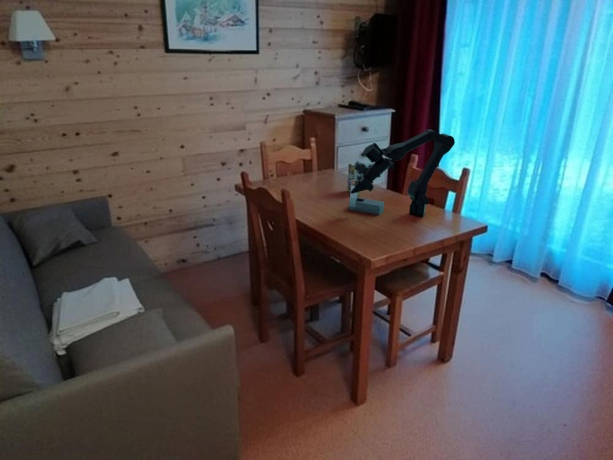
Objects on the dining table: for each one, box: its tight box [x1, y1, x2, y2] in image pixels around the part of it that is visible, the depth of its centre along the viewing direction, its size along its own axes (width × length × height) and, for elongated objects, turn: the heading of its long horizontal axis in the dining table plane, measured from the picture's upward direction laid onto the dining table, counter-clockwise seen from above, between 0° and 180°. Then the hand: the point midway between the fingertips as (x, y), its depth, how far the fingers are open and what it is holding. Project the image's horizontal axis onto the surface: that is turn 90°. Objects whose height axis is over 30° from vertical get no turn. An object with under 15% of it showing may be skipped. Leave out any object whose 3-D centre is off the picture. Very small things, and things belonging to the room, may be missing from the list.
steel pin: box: [349, 180, 358, 207], centre depth 205 cm, size 3×3×12 cm
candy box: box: [347, 162, 361, 196], centre depth 240 cm, size 9×4×15 cm, turn 17°
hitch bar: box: [348, 196, 385, 216], centre depth 217 cm, size 15×7×4 cm, turn 64°
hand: (350, 191), depth 205 cm, fingers closed on steel pin, 3 cm apart
